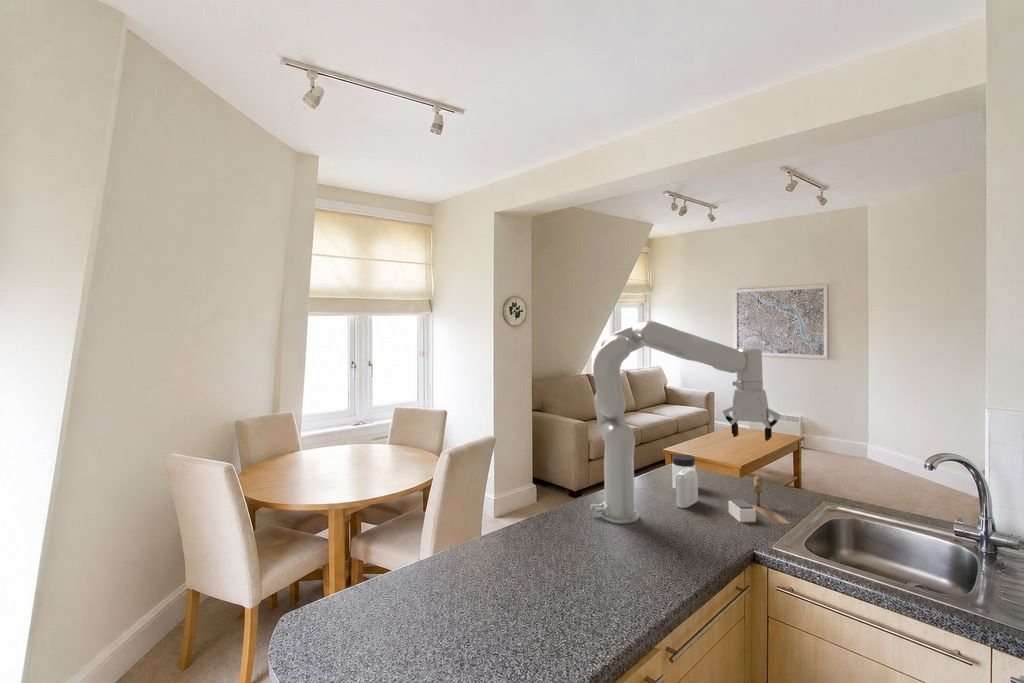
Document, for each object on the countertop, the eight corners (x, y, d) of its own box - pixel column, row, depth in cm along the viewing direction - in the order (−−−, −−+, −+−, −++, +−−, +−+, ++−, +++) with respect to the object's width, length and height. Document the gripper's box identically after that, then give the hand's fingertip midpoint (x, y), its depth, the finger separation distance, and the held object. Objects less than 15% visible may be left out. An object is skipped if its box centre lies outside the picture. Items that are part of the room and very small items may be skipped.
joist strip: (775, 524, 151) (774, 523, 151) (749, 505, 167) (749, 505, 167) (790, 524, 151) (790, 523, 151) (764, 505, 167) (764, 504, 167)
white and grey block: (740, 523, 153) (739, 507, 153) (728, 513, 161) (728, 498, 161) (755, 523, 153) (755, 507, 153) (743, 513, 161) (743, 498, 161)
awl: (756, 507, 165) (756, 477, 164) (752, 504, 167) (752, 475, 167) (764, 507, 165) (763, 477, 164) (760, 504, 167) (759, 474, 167)
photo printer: (688, 498, 175) (687, 464, 175) (699, 501, 172) (699, 467, 172) (674, 506, 168) (673, 471, 168) (685, 509, 165) (685, 473, 165)
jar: (674, 483, 193) (674, 453, 193) (696, 485, 189) (696, 455, 189) (670, 489, 185) (670, 458, 185) (693, 492, 181) (693, 461, 181)
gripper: (718, 386, 160) (720, 437, 161) (776, 388, 149) (778, 443, 149) (726, 383, 166) (727, 432, 167) (782, 385, 155) (783, 438, 155)
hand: (751, 438), depth 158 cm, fingers open, 9 cm apart
